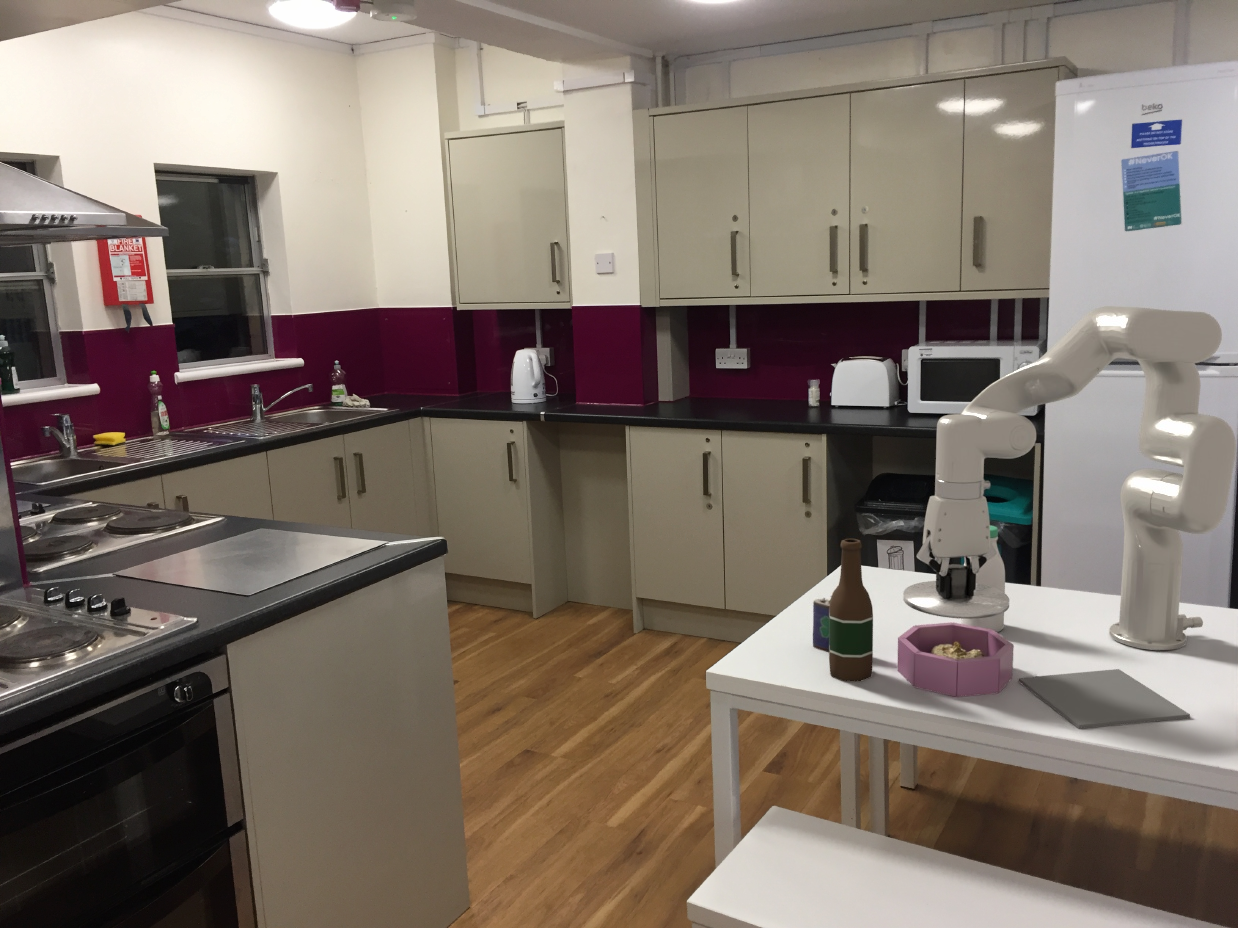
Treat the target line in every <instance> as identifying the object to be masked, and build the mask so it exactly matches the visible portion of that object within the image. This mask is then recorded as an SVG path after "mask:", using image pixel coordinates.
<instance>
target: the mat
mask: <svg viewBox="0 0 1238 928" xmlns="http://www.w3.org/2000/svg"><path fill="white" fill-rule="evenodd" d="M1017 679H1018V681H1017V682H1019V683H1020V685H1022V686H1024V687H1025V688H1026V689H1027V690H1028V691H1030V692H1031V693H1033V695H1035V696H1036V697H1038V698H1039V699H1040V700H1041V701H1043V702H1044V703H1045V704H1046V705H1048V706H1049V707H1050V708H1052V709H1053V710H1054V711H1056V712H1057V713H1058V714H1060V715H1061V716H1062V717H1063V718H1065V720H1067V721H1068V722H1069V723H1071V724H1072V725H1073V726H1074V727H1076V728H1077V729H1078V730H1079V729H1091V728H1099V727H1100V728H1101V727H1110V726H1111V727H1112V726H1119V725H1121V726H1122V725H1131V724H1141V723H1153V722H1163V721H1173V720H1181V719H1182V720H1184V719H1190V717H1191V713H1189V712H1187V711H1186V710H1184V709H1182V708H1181V707H1179V706H1178V705H1176V704H1174V703H1173V702H1171V701H1169V699H1167V698H1165V697H1163V696H1162V695H1160V694H1159V693H1157V692H1155V691H1154V690H1153V689H1151V688H1150V687H1148V686H1147V685H1144V684H1143V683H1141V682H1140V681H1139V680H1137V679H1135V678H1133V677H1132V676H1130V675H1129V674H1128V673H1126V672H1124V671H1123V670H1121V669H1120V668H1115V669H1103V670H1093V671H1082V672H1070V673H1061V674H1059V673H1058V674H1048V675H1036V676H1028V677H1027V676H1026V677H1024V676H1023V677H1018V678H1017Z"/></svg>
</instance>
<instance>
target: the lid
mask: <svg viewBox="0 0 1238 928" xmlns="http://www.w3.org/2000/svg"><path fill="white" fill-rule="evenodd" d="M947 575H948V576H950V595H949V598H947V599H945V598H943V597H942V596H940V595H939V594H938V592H937V591H936V580H929V581H923V582H918V583H914V584H912V585H909V586H907V587H905V589H904V590H903V595H902V597H903V602H904V603H905V605H907V606H908V607H909V608H911V609H913V610H916V611H918V612H921V613H923V614H928V615H931V616H937V617H941V618H949V619H950V618H951V619H961V618H962V619H974V618H986V617H992V616H996V615H999V614H1002V613H1004V614H1005V613H1006V612H1007V611H1008V609H1009V608H1010V597H1009V595H1008V594H1006V592H1005V593H1004V592H1002V591H1000V590H998V589H995V588H993V587H990V586H986V585H982V584H977V583H976V588H975V590H974V596H973V597H969V596H968V595H967V579H968V567H966V566H964V564H954V563H953V564H949V565H948V570H947Z"/></svg>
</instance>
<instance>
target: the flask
mask: <svg viewBox="0 0 1238 928" xmlns="http://www.w3.org/2000/svg"><path fill="white" fill-rule="evenodd" d="M831 596H832V594H831V595H830V597H831ZM812 603H813V605H812V606H813V607H812V608H813V610H812V613H813V615H812V616H813V617H812V618H813V619H812V624H813V625H812V647H813V648H815V649H817V650H819V651H824V652H828V653H829V607H830V599H827V598H826V597H823V598H816V599H814V600H813V602H812Z"/></svg>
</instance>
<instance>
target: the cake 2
mask: <svg viewBox="0 0 1238 928" xmlns="http://www.w3.org/2000/svg"><path fill="white" fill-rule="evenodd" d="M955 643H957V644H956V645H958V646H956V645H955ZM955 643H954V646H952V645H950V644H940V645H938V647H937V646H935V647H934V649H933V650H932V652H931V654H934V655H939V656H944V657H949V658H954V659H966V658H977V657H984V654H982V652H981V650H975V649H974V650H972V651H970V652H967V651H965V650H963V649H961V645H960V644H959V643H958V642H955Z"/></svg>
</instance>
